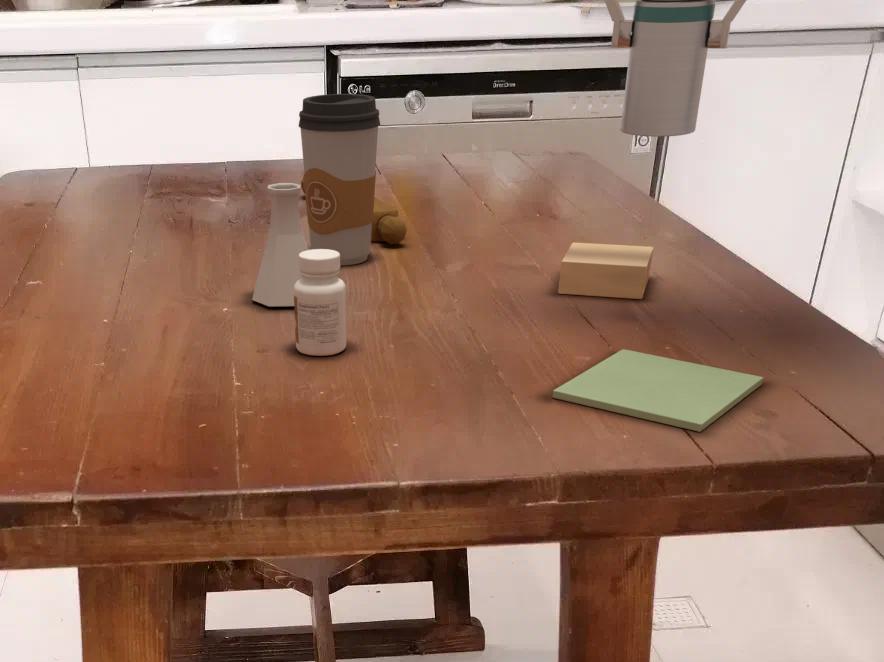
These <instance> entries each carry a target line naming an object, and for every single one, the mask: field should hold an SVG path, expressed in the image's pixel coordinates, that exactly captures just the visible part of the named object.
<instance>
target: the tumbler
mask: <svg viewBox="0 0 884 662" xmlns="http://www.w3.org/2000/svg"><path fill="white" fill-rule="evenodd" d="M715 8H716V0H635V3H634V7H633V14H632V20H633V29H632V36H631V45H630V48H629V53H628V54H629V55H628V61H627V71H626V78H625V79H626V80H625V87H624V95H623V103H622V104H623V105H622V113H621V122H620V129H619V130H620V132H622V133H623V134H626V135H632V136H637V137H652V138H653V137H655V138H657V137H658V138H660V137H661V138H662V137H663V138H665V137H679V136H685V135H686V136H687V135H689V134H692V133H694V132H695V131H696V127H697V121H698V113H699V108H700V101H701V95H702V89H703V84H704V83H703V82H704V76H705V70H706V62H707V56H708V51H709V50H708V49H709V48H707V43H708V38H709V37H710V32H709V31H710V25H711V21H712V20H714V16H715V11H716V10H715Z"/></svg>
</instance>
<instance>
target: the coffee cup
mask: <svg viewBox="0 0 884 662" xmlns="http://www.w3.org/2000/svg"><path fill="white" fill-rule="evenodd" d="M298 115H299V116H298V117H299V121H298V128H300V137H301V139H300V140H301V149H302V163H303V176H304V184H305V194H304V195H305V206H306V216H307V224H308V232H309V245H310V250H312V249H329V250H334V251H337V252H339V254H340V266H351V265H357V264H362V263H364V262H366V261H367V260H368V255H369V254H371V242H372V241H371V229H372V222H373V210H374V197H375V194H376V179H377V171H376V165H377V149H378V134H379V133H378V132H379V126H380V125H381V120H380V109H378V108H377V103H376V97H375V96H373V95H368V94H357V93H331V94H319V95H312V96H308V97H305V98H303V99H302V110H300V111H299V114H298Z"/></svg>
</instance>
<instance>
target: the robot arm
mask: <svg viewBox="0 0 884 662" xmlns="http://www.w3.org/2000/svg"><path fill="white" fill-rule="evenodd" d="M746 2H747V0H734V2H733V3H732V4H731V6H730V8H728V11H727V12H726V14H724V16H723V18H722V19H712V21H711V25H710V31H709V32H710V37H709V38H708V43H707V48H708V49H727V47H728V42H729V37H730V36H729V35H730V30H731V25H732V22H734V20H735V18H736V16H737V15H738V14H739V12H740V11H741V9H742V8H743V6H744V5H745V3H746ZM604 3H605V6H606V9H607V11H608V13H609V16H610V18H611V21H612V22H613V27H612V36H611V48H613V49H620V48H621V49H622V48H623V49H625V48H629V49H630V45H631V36H632V29H633V19H626V18H625V16H624V13H623V9H622V7H621V3H620V2H619V0H604Z"/></svg>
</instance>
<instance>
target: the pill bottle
mask: <svg viewBox="0 0 884 662" xmlns="http://www.w3.org/2000/svg"><path fill="white" fill-rule="evenodd" d="M340 272H341V265H340V254H339V252H337V251H334V250H329V249H312V250H311V249H309V250H307V251H303V252H301V253H300V254H299V274H301V276H302V278H301V279H299V280H298V281H297V282H296V283H295V285H294V306H293V307H294V330H295V331H294V333H295V334H294V335H295V348H296V349H297V351H298V352H300V353H301V354H303V355H306V356H307V355H308V356H314V357H315V356H317V357H324V356H333V355H336V354H339V353H341V352H343V351H344V350H345V349H346V347H347V287H346V283H345V281H343V279H341V278H339V277H338V274H340Z"/></svg>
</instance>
